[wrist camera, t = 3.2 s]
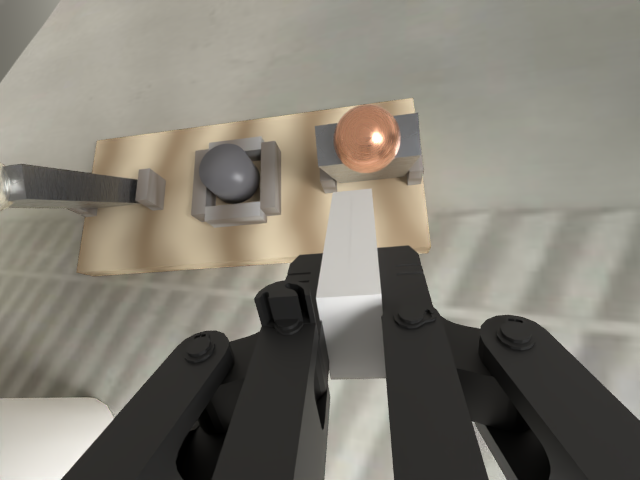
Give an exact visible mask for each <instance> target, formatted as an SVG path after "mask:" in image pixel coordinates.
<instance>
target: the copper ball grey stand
mask: <svg viewBox="0 0 640 480" xmlns="http://www.w3.org/2000/svg"><path fill="white" fill-rule="evenodd" d="M315 136H316V148H317V159H318V167H319V168H321V169H322V170H323V171H324V172H326V173H327V174H328V175H330V176H331V177H332V178H333V179H335V180H336V181H337V182H339V183H348V182H358V181H368V180H378V179H387V178H397V177H404V176H405V175H406V173H407V172H408V171H409V170H410V168H411V167H412V166H413V165H414V163H415V162H416V161H417V160H418V158H419V157H420V156H421V149H420V134H419V120H418V113H412V114H404V115H397V116H393V115H392V114H391V113H390V112H389V111H387V110H386V109H384V108H382V107H380V106H377V105H373V104H364V105H359V106H356V107H354V108H352V109H350V110H349V111H347V112H346V113H345V114H344V115H343V116H342V117H341V119H340V120H339V122H338V123H334V124H327V125H319V126H315Z"/></svg>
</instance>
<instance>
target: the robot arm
mask: <svg viewBox="0 0 640 480" xmlns="http://www.w3.org/2000/svg"><path fill="white" fill-rule="evenodd" d="M254 300H255V303H256V307H257V310H258V314H259V317H260V321H261V324H262V327H261V330H260V332H258V333H256V334H254V335H251V336H248V337H245V338H242V339H238V340H235V341H231V342H229V340H228V338H227V337H226V336H225V334H224V333H221V332H218V331H204V332H200V333H197V334H194V335H192V336H191V337H189V338H187V339H185V340H184V341H183V342H182V343H181V344H180V345H178V346H177V347H176V348H175V350H174V351H173V352H172V353H171V354H170V355H169V356H168V358H167V359H166V360H165V361H164V362H163V363H162V364H161V366H160V367H159V368H158V369H157V370H156V371H155V372H154V374H153V375H152V376H151V377H150V378H149V379H148V380H147V382H146V383H145V384H144V385H143V386H142V387H141V388H140V390H139V391H138V392H137V393H136V394H135V395H134V396H133V398H132V399H131V400H130V401H129V402H128V403H127V404H126V406H125V407H124V408H123V409H122V410H121V411H120V412H119V414H118V415H117V416H116V417H115V418H114V419H113V420H112V422H111V423H110V424H109V425H108V426H107V427H106V428H105V430H104V431H103V432H102V433H101V434H100V435H99V436H98V438H97V439H96V440H95V441H94V442H93V443H92V444H91V446H90V447H89V448H88V449H87V450H86V451H85V452H84V454H83V455H82V456H81V457H80V458H79V459H78V460H77V462H76V463H75V464H74V465H73V466H72V467H71V468H70V470H69V471H68V472H67V473H66V474H65V475H64V476H63V478H62V479H61V480H324V476H325V462H326V449H327V435H328V421H329V408H330V393H329V387H328V374H329V372H330V377H331V379H370V378H386V382H387V395H388V407H389V420H390V432H391V445H392V457H393V470H394V480H489V479H488V476H487V472H486V469H485V465H484V462H483V459H482V455H481V452H480V448H479V445H478V441H477V438H476V435H475V431H474V428H473V424H472V421H473V422H475V424H476V427H477V429H478V430H479V432H480V434H481V435H482V437H483V439H484V441H485V442H486V444H487V446H488V448H489V449H490V451H491V453H492V455H493V456H494V458H495V460H496V461H497V463H498V465H499V467H500V468H501V470H502V472H503V474H504V475H505V477H506V479H507V480H640V420H638V419H637V418H636V417H635V416H634V415H633V414H632V413H631V412H630V411H629V410H628V409H627V408H626V407H625V406H624V405H623V404H622V403H621V402H620V401H619V400H618V399H617V398H616V397H615V396H614V395H613V394H612V393H611V392H610V391H609V390H608V389H607V388H606V387H604V386H603V385H602V384H601V383H600V382H599V381H598V380H597V379H596V378H595V377H594V376H593V375H592V374H591V373H590V372H589V371H588V370H587V369H586V368H585V367H584V366H583V365H582V364H581V363H580V362H579V361H578V360H577V359H576V358H575V357H574V356H573V355H572V354H570V353H569V352H568V351H567V350H566V349H565V348H564V347H563V346H562V345H561V344H560V343H559V342H558V341H557V340H556V339H555V338H554V337H553V336H552V335H551V334H550V333H549V332H548V331H547V330H546V329H544V328H543V327H541V326H540V325H539V324H537V323H536V322H534V321H531V320H529V319H526V318H524V317H519V316H513V315H501V316H495V317H492V318H490V319H487V320H486V321H485V322H484V323H483V324H482V325H481V329H479V328H473V327H468V326H463V325H459V324H455V323H453V322H450V321H448V320H446V319H444V318H443V317H442V316H440V314H439V313H438V311H437V310H436V309H435V308H434V307H433V305H432V302H431V298H430V294H429V291H428V287H427V284H426V280H425V276H424V274H423V269H422V266H421V262H420V258H419V255H418V253H417V252H416V251H415V250H414V249H413V248H411V247H410V246H409V245H406V246H393V247H381V248H377V241H376V230H375V219H374V208H373V198H372V188H371V189H361V190H351V191H342V192H333V194H332V200H331V207H330V213H329V219H328V225H327V232H326V238H325V244H324V250H323V253H317V254H304V255H299V256H298V257H297V258H296V259H295V260H294V261H293V262H292V263H291V264H290V267H289V270H288V276H287V277H286V280H285V281H279V282H275V283H273V284H270V285H268V286H266V287H265V288H263V289H262V290H261V291H259V292H258V294H257V295H256V297H255V298H254Z"/></svg>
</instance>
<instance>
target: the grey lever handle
mask: <svg viewBox="0 0 640 480" xmlns="http://www.w3.org/2000/svg"><path fill="white" fill-rule="evenodd" d="M137 181H138V180H137V179H130V178H122V177H115V176H107V175H100V174H92V173H85V172H78V171H70V170H63V169H55V168H48V167H40V166H33V165H26V164H17V165H9V166H5V165H4V164H2V163H0V211H2V210H4V209H6V208H84V209H96V208H106V207H115V206H125V205H135V204H140V203H139V202H137V201H135V198H136V190H137Z"/></svg>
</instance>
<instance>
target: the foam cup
mask: <svg viewBox="0 0 640 480" xmlns="http://www.w3.org/2000/svg"><path fill="white" fill-rule="evenodd" d="M113 419H114V417H113V416H112V414H111V412H110V410H109V408H108V406H107V405H106V404H104V403H102V402H101V401H99V400H98V399H96V398H89V397H83V398H0V480H61V479H62V478H63V476H64V475H65V474H66V473H67V472H68V471H69V470H70V468H71V467H72V466H73V465H74V464H75V463H76V462H77V460H78V459H79V458H80V457H81V456H82V455H83V454H84V452H85V451H86V450H87V449H88V448H89V447H90V446H91V444H92V443H93V442H94V441H95V440H96V439H97V438H98V436H99V435H100V434H101V433H102V432H103V431H104V430H105V428H106V427H107V426H108V425H109V424H110V423H111V422H112V420H113Z"/></svg>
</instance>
